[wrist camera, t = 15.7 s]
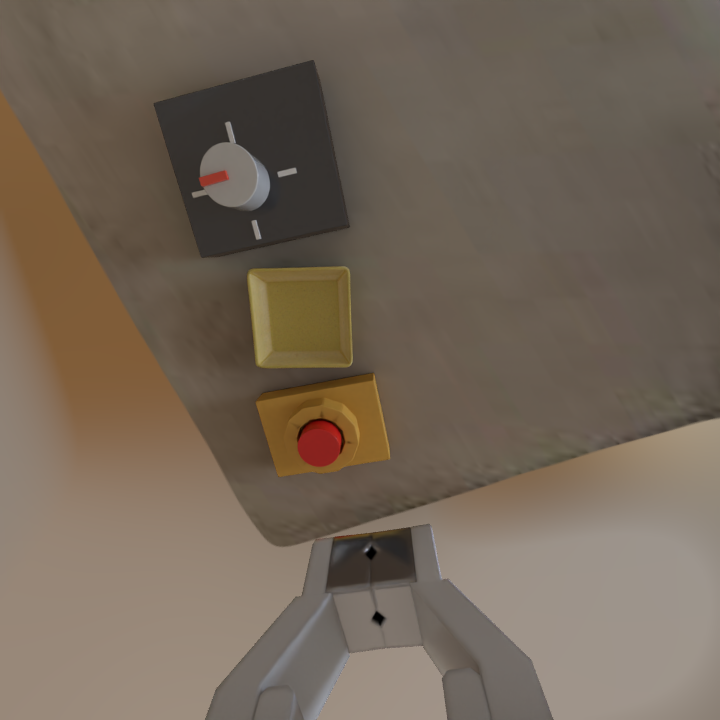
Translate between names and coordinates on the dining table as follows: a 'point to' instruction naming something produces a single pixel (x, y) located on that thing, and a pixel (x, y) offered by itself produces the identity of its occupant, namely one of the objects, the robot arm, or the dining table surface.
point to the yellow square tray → (301, 317)
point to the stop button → (319, 443)
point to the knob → (234, 177)
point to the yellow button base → (330, 403)
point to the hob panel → (270, 146)
